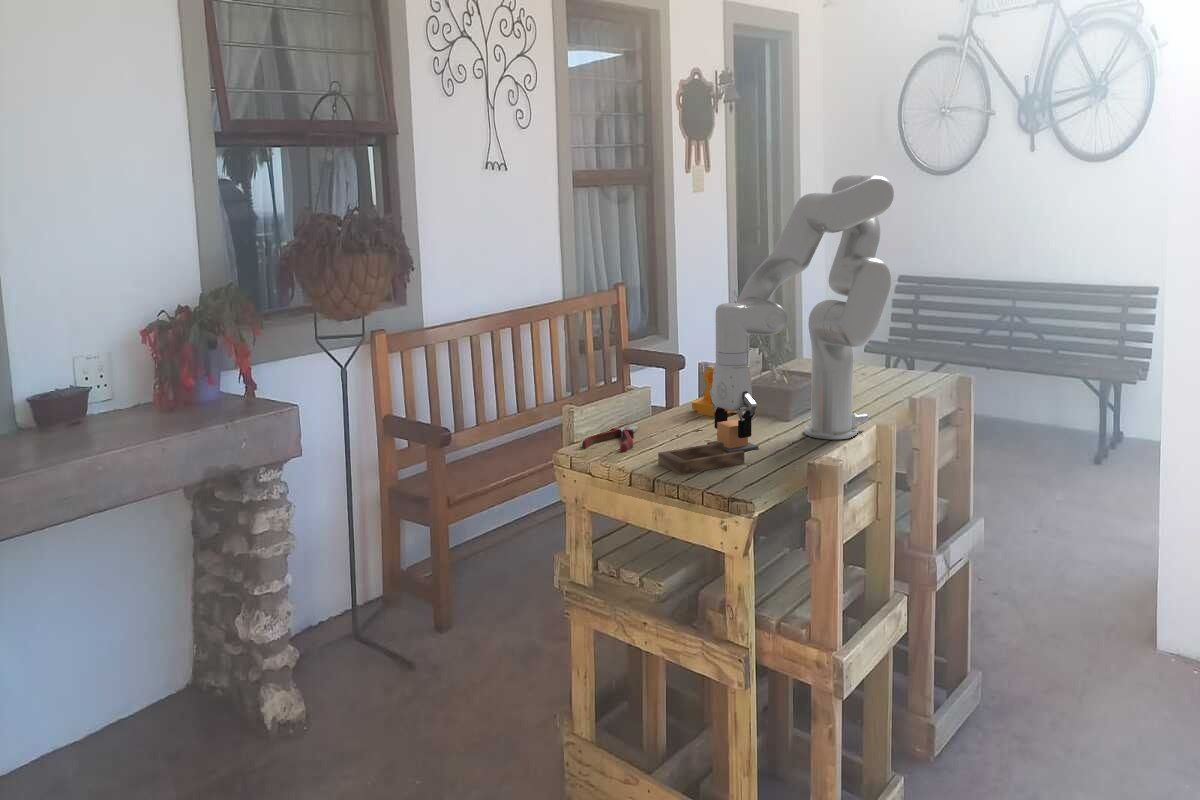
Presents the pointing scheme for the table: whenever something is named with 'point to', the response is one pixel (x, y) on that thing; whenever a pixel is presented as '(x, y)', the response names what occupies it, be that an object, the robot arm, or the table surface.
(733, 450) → the rubber mat
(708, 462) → the brown wooden tray
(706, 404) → the bracket
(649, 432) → the table surface
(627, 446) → the pliers
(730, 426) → the orange block
